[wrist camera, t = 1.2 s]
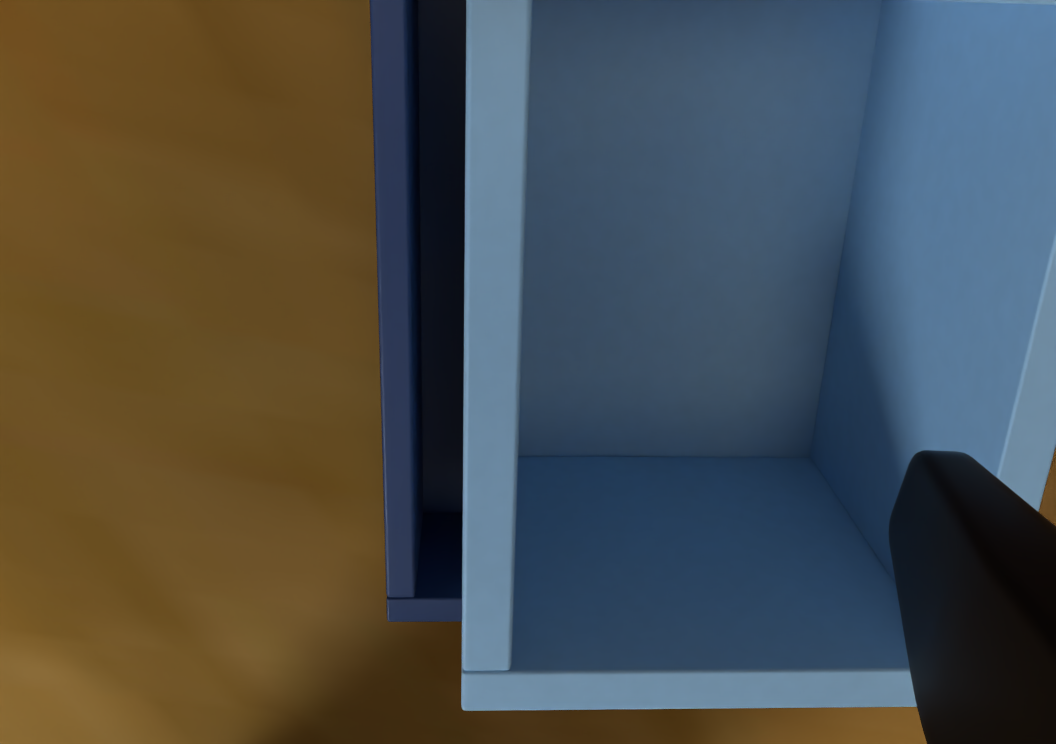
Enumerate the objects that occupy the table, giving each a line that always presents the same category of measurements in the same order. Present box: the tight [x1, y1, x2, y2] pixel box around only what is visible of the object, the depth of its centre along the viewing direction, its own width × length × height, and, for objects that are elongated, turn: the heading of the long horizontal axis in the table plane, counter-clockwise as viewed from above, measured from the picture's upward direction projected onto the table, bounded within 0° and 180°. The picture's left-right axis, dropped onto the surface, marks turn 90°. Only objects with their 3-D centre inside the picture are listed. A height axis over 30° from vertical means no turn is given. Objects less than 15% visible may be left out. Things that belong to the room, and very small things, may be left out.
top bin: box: [461, 0, 1056, 711], centre depth 18 cm, size 12×9×8 cm
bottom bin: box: [370, 0, 466, 622], centre depth 20 cm, size 15×12×4 cm
